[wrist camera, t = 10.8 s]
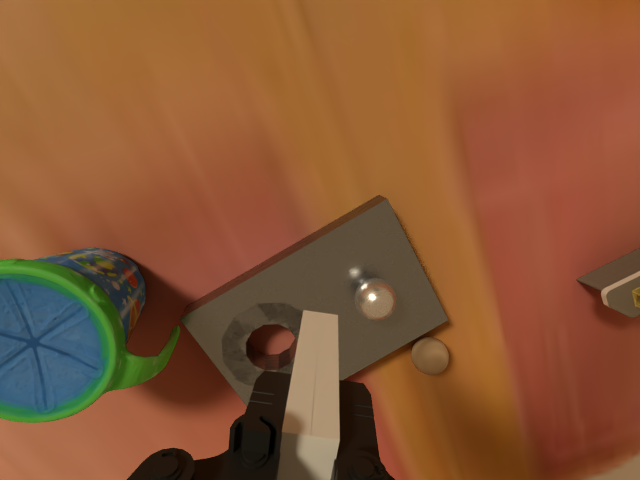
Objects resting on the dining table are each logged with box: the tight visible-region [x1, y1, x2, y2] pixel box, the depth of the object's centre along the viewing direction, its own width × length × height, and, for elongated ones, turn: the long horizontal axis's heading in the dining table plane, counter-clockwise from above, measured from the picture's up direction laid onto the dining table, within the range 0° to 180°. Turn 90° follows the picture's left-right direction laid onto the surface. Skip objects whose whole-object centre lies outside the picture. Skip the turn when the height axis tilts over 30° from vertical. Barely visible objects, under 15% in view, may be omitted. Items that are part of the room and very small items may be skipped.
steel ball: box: [354, 278, 397, 321], centre depth 30 cm, size 4×4×4 cm
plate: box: [180, 195, 448, 406], centre depth 33 cm, size 20×13×2 cm, turn 120°
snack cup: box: [0, 248, 180, 423], centre depth 26 cm, size 16×10×10 cm
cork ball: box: [411, 337, 449, 375], centre depth 35 cm, size 4×4×4 cm
